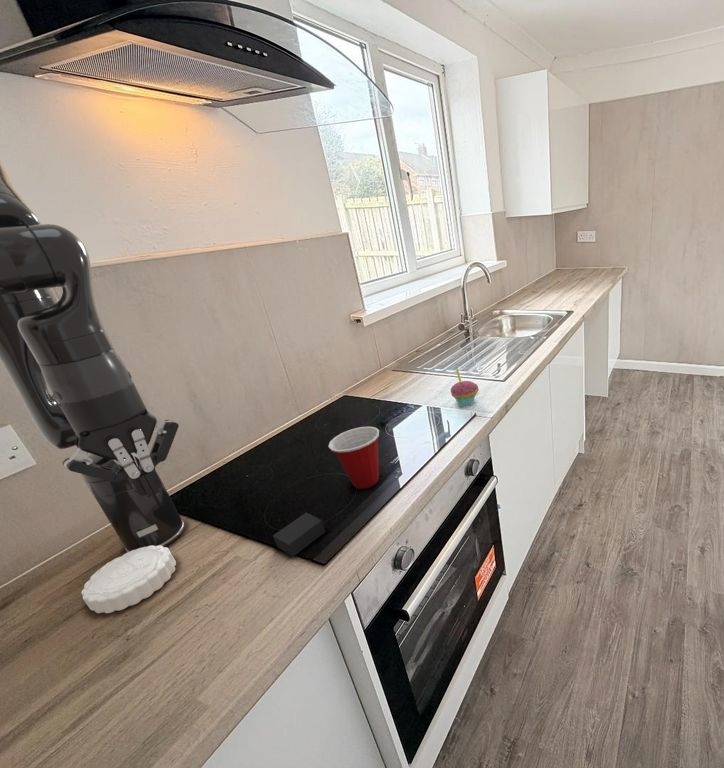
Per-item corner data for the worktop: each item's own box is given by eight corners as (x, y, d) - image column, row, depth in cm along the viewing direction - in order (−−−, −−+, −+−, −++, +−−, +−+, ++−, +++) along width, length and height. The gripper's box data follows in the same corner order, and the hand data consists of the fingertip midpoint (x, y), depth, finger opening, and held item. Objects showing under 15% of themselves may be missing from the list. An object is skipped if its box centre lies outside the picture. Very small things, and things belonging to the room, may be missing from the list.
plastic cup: (372, 462, 102) (362, 419, 98) (399, 476, 96) (389, 432, 91) (332, 485, 95) (318, 440, 90) (357, 502, 88) (344, 455, 84)
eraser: (277, 547, 78) (272, 535, 77) (310, 523, 83) (306, 512, 82) (293, 557, 76) (288, 544, 74) (325, 531, 81) (321, 520, 80)
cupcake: (447, 407, 127) (441, 371, 122) (462, 395, 134) (457, 361, 129) (470, 411, 123) (465, 374, 119) (485, 399, 130) (481, 364, 125)
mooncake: (174, 546, 80) (166, 532, 79) (179, 583, 72) (171, 568, 71) (91, 583, 73) (81, 568, 72) (87, 629, 65) (75, 613, 64)
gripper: (143, 366, 61) (189, 463, 68) (15, 404, 51) (84, 513, 58) (165, 373, 57) (211, 475, 64) (32, 415, 47) (104, 531, 54)
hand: (151, 493), depth 61 cm, fingers closed
